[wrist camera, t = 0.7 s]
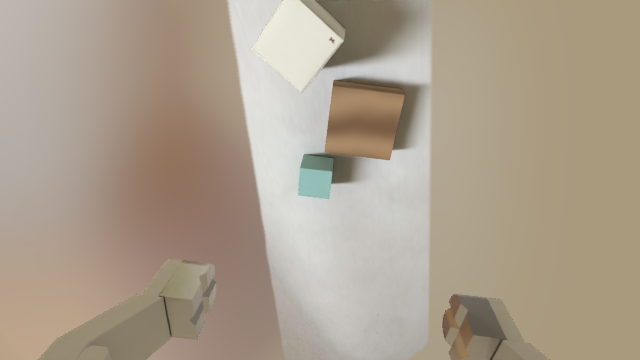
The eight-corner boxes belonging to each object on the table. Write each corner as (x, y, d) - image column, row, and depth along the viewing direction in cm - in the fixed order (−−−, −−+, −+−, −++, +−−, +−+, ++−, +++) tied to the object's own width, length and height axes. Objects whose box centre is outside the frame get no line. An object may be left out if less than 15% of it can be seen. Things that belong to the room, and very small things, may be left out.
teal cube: (304, 154, 54) (300, 167, 50) (333, 157, 54) (332, 171, 50) (302, 180, 56) (298, 195, 52) (330, 183, 56) (329, 199, 52)
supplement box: (305, -11, 42) (290, -14, 31) (347, 30, 44) (347, 40, 33) (272, 36, 45) (248, 48, 34) (313, 72, 47) (302, 94, 36)
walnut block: (333, 79, 48) (332, 86, 44) (400, 88, 48) (405, 95, 44) (326, 141, 53) (324, 151, 49) (386, 149, 53) (389, 160, 49)
